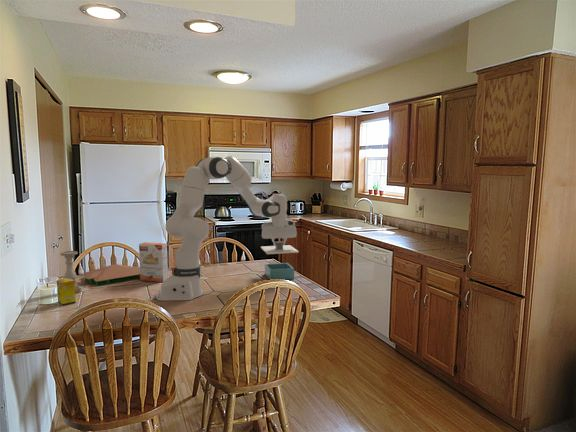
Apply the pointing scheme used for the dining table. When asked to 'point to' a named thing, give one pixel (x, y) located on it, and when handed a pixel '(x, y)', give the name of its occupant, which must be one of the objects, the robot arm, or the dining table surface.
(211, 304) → the dining table surface
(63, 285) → the supplement box
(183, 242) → the robot arm
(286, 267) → the teal open box
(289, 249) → the lid
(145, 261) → the cracker box
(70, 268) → the candle holder
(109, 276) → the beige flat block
